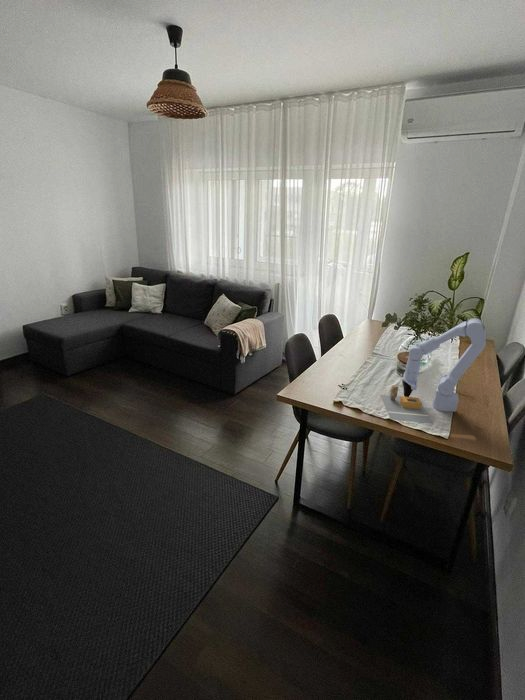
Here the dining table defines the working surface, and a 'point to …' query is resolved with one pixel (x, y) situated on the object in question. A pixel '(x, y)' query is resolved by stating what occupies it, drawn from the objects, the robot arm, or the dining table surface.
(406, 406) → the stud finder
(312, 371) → the dining table surface
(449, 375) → the robot arm
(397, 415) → the floor panel
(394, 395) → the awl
